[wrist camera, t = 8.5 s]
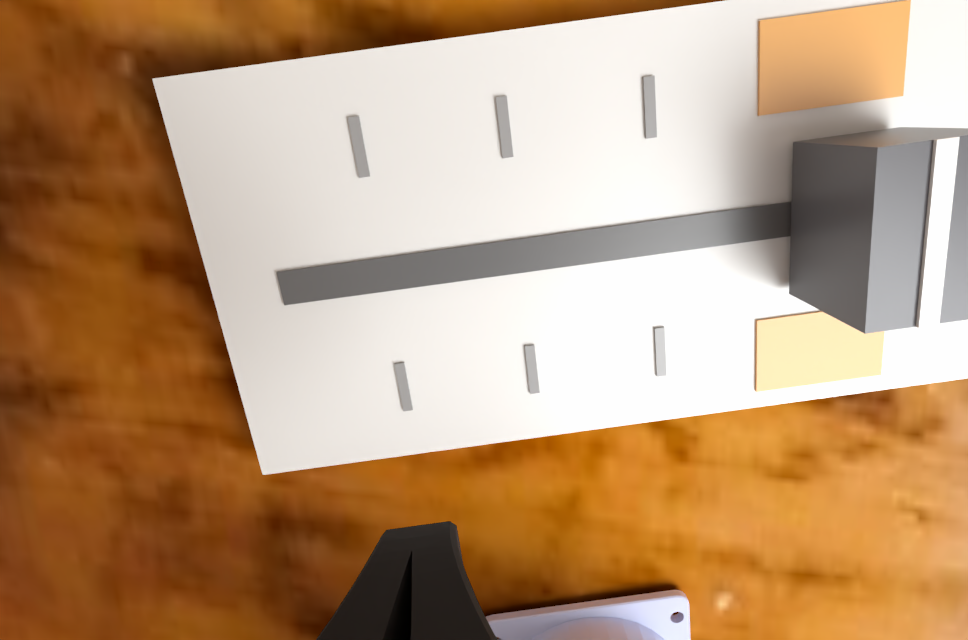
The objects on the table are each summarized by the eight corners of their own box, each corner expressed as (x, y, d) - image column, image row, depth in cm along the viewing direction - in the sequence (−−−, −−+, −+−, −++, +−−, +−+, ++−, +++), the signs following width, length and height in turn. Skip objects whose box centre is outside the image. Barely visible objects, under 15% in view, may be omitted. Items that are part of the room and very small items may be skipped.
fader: (888, 280, 18) (990, 318, 15) (788, 293, 18) (867, 335, 15) (900, 127, 17) (1015, 129, 14) (792, 141, 17) (880, 148, 14)
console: (1021, 348, 21) (1065, 366, 20) (275, 451, 21) (261, 476, 20) (1082, -42, 18) (1141, -57, 16) (176, 81, 18) (150, 78, 16)
